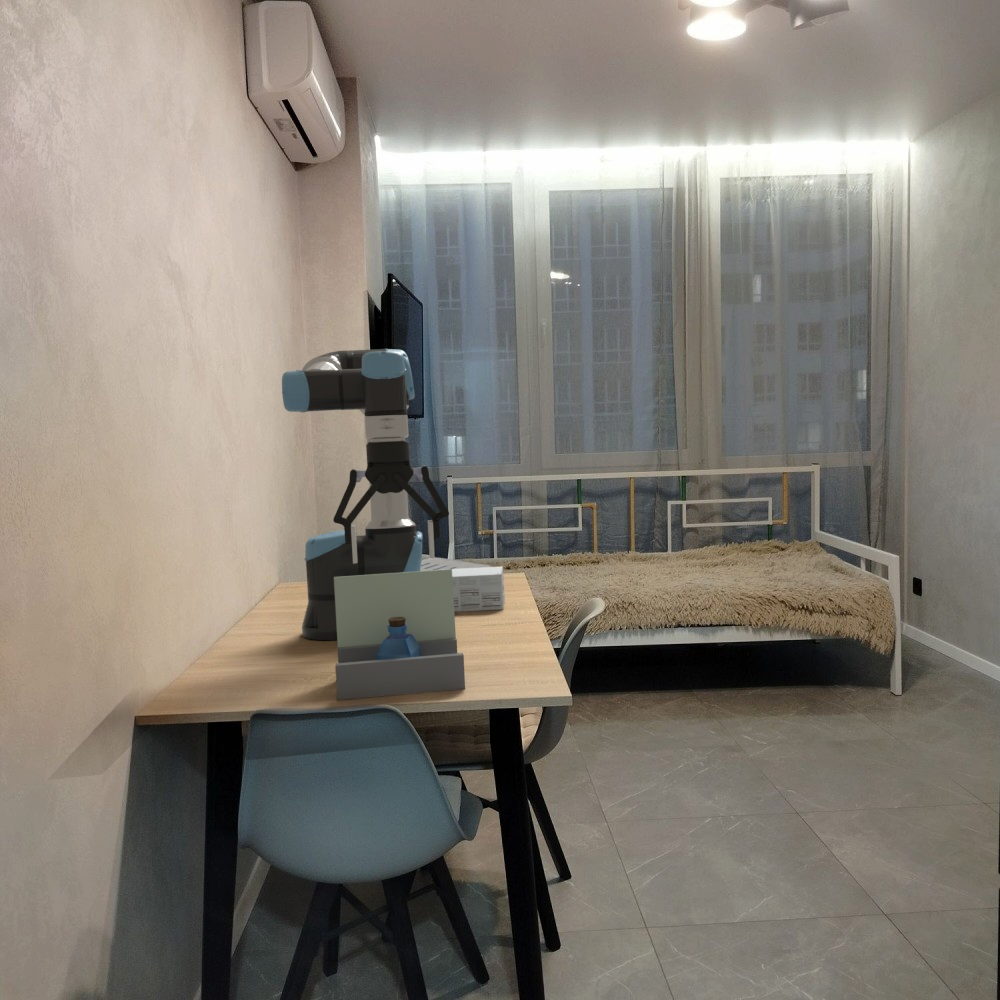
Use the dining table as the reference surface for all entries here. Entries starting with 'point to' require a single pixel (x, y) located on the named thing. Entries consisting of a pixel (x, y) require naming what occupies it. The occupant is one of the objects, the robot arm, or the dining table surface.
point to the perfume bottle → (398, 641)
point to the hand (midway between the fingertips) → (393, 560)
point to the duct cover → (394, 606)
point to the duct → (399, 670)
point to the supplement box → (478, 588)
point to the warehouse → (447, 564)
